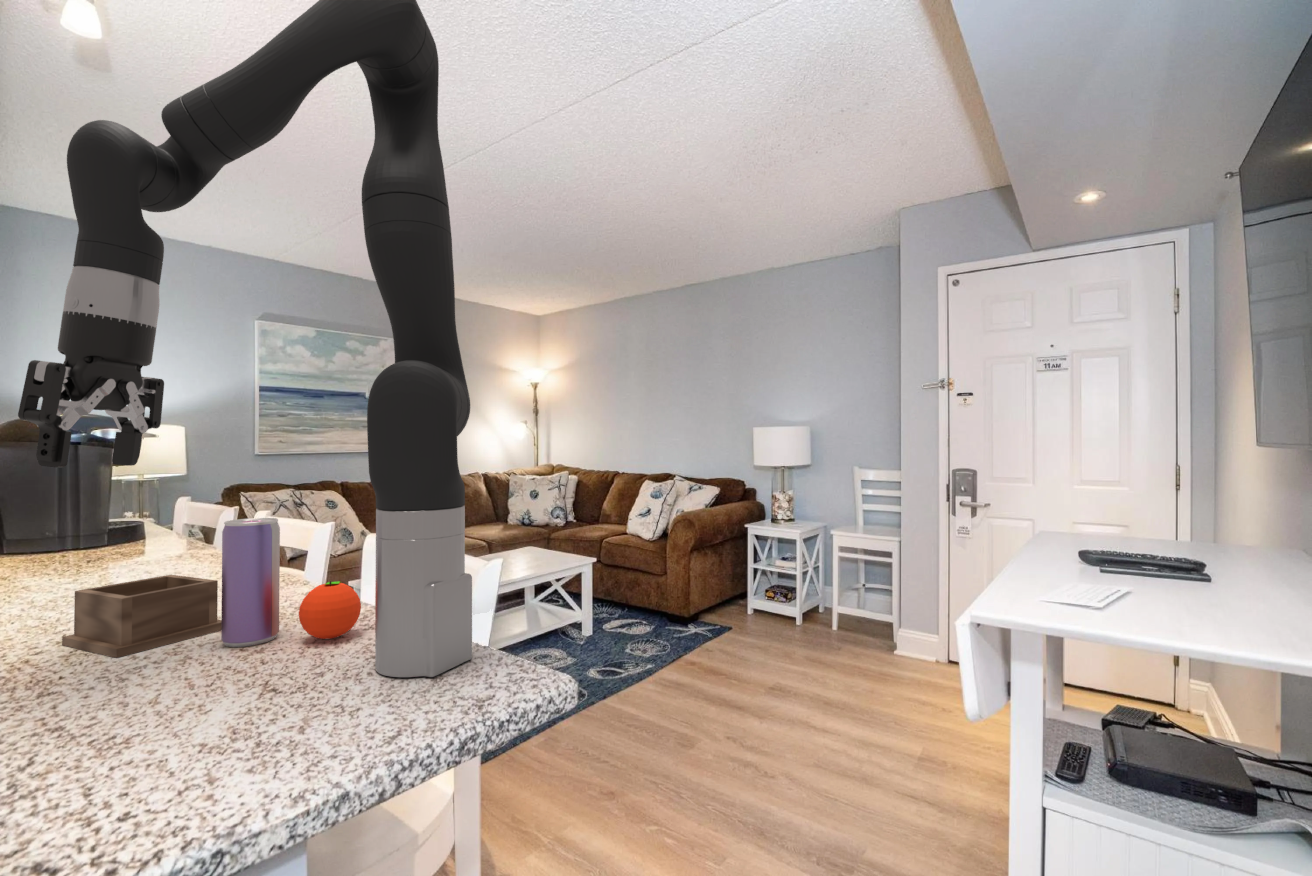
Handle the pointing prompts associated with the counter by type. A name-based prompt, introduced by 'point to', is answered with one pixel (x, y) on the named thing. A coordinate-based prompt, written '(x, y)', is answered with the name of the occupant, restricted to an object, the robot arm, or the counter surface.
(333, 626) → the clementine
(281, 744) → the counter surface
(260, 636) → the beverage can
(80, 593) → the open wooden box
